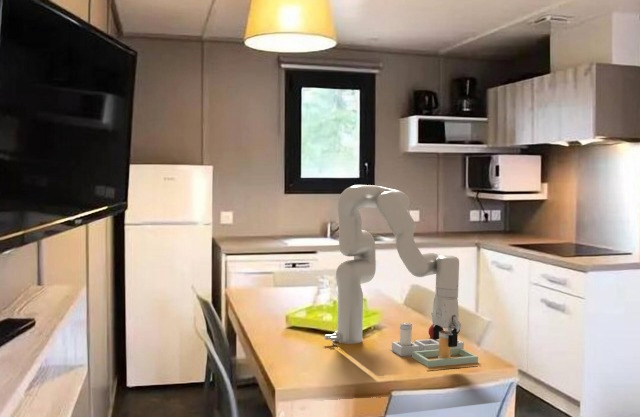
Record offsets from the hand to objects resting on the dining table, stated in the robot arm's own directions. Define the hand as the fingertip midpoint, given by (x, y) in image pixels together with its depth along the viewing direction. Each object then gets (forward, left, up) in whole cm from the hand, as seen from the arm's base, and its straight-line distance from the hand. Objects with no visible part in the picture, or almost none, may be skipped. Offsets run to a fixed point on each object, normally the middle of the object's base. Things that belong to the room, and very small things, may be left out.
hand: (444, 342), depth 208 cm
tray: (0, 0, -7) cm, 7 cm away
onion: (+12, +26, -8) cm, 30 cm away
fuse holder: (0, +11, -7) cm, 14 cm away
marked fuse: (0, 0, -6) cm, 6 cm away
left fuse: (-9, +11, -6) cm, 16 cm away
